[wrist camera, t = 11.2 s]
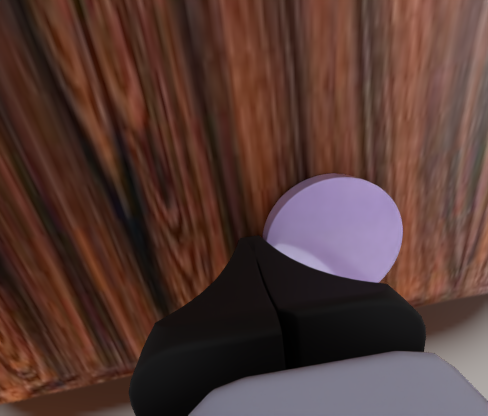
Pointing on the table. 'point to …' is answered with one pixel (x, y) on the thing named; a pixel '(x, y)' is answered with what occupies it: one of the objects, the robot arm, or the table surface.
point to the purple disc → (337, 226)
